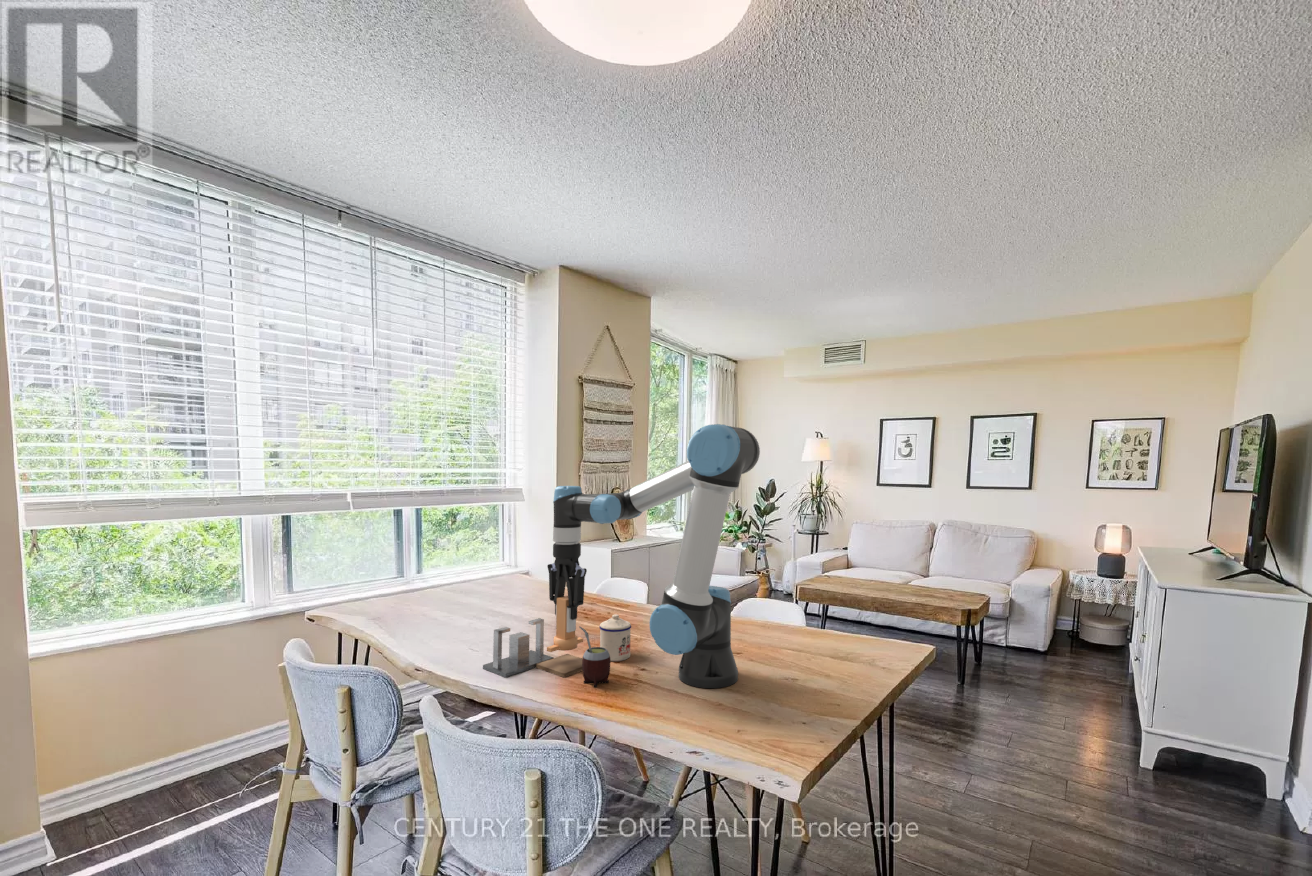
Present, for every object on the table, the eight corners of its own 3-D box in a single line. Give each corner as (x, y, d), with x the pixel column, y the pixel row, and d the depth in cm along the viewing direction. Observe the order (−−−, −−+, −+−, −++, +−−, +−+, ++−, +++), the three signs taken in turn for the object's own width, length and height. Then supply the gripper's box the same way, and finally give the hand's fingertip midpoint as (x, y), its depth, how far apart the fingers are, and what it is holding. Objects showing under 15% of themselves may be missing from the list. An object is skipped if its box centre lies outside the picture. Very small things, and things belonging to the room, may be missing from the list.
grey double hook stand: (531, 653, 161) (531, 615, 162) (553, 661, 155) (554, 621, 155) (482, 668, 149) (483, 627, 149) (505, 677, 142) (506, 634, 143)
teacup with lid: (624, 663, 153) (624, 620, 154) (593, 660, 156) (594, 617, 156) (639, 650, 164) (639, 610, 165) (610, 647, 167) (611, 607, 168)
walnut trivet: (594, 665, 151) (594, 662, 151) (563, 677, 142) (563, 673, 142) (567, 657, 158) (567, 653, 158) (536, 667, 149) (536, 664, 149)
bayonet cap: (573, 639, 157) (574, 592, 158) (589, 644, 153) (589, 596, 154) (540, 649, 148) (541, 599, 149) (556, 654, 144) (557, 603, 145)
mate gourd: (611, 677, 143) (611, 618, 143) (609, 689, 135) (609, 626, 136) (581, 677, 142) (582, 618, 143) (578, 689, 134) (578, 626, 135)
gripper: (598, 543, 150) (597, 632, 148) (557, 538, 160) (555, 621, 159) (577, 546, 144) (576, 639, 143) (536, 541, 154) (534, 627, 153)
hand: (565, 629), depth 151 cm, fingers closed on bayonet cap, 4 cm apart
